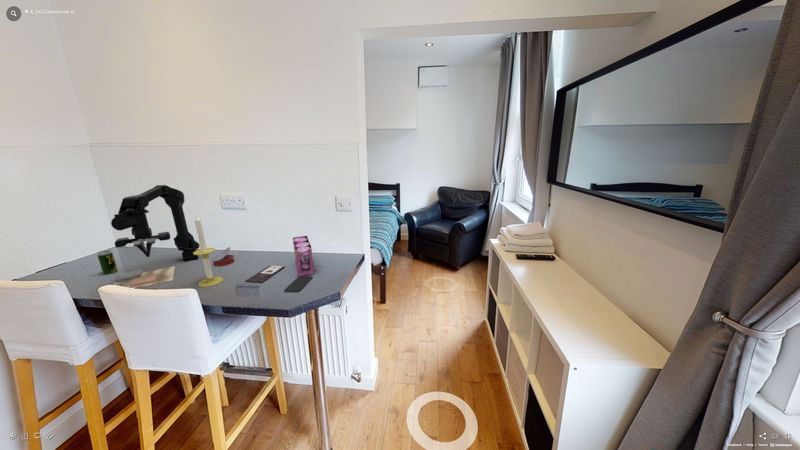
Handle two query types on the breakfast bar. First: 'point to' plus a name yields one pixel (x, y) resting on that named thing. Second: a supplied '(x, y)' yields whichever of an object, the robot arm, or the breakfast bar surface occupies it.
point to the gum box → (303, 256)
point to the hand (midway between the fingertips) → (148, 256)
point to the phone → (298, 284)
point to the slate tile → (128, 276)
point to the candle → (205, 258)
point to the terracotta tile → (144, 280)
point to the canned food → (223, 258)
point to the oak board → (163, 274)
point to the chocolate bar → (265, 274)
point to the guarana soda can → (107, 262)
